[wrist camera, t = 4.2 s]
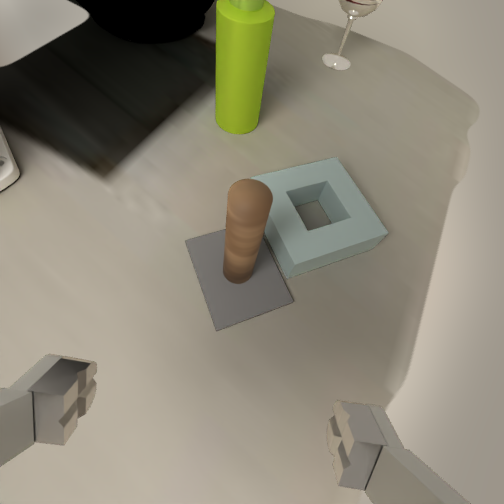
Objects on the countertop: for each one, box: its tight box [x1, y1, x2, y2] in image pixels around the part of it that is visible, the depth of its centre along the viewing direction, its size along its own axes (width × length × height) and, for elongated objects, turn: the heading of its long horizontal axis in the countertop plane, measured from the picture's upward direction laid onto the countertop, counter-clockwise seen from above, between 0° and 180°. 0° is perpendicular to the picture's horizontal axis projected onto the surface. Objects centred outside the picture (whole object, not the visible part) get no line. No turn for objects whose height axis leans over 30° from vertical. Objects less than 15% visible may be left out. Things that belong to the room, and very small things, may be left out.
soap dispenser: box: [216, 0, 275, 134], centre depth 32 cm, size 6×7×20 cm
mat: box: [185, 229, 293, 331], centre depth 30 cm, size 10×8×1 cm
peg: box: [223, 179, 273, 284], centre depth 25 cm, size 3×3×12 cm
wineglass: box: [322, 0, 383, 70], centre depth 45 cm, size 7×7×12 cm
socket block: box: [250, 157, 388, 279], centre depth 33 cm, size 11×11×4 cm
